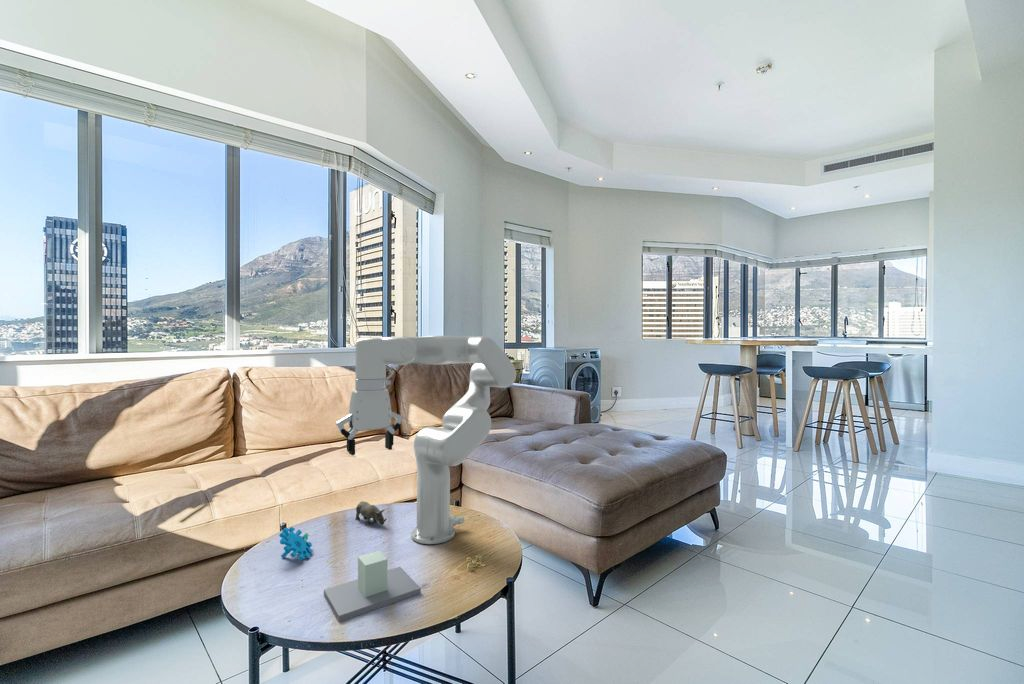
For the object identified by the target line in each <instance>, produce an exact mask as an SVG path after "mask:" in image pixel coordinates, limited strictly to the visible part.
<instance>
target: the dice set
mask: <svg viewBox="0 0 1024 684" xmlns="http://www.w3.org/2000/svg"><path fill="white" fill-rule="evenodd" d="M481 560H483V557H482V554H476V556H475V560H473V557H470V556H469V557H467V558H466V565H467V564H468V565H467V567H466V568H467V570H469V571H468V572H473V571H474V568H473V567H475V568H477V567H478V566H480V567H481V566H483V567H482V568H485V567H486V566H487V565H486V564H485V563H483V562H482V561H481ZM476 561H477V562H476ZM480 561H481V562H480ZM481 563H482V564H481ZM478 564H480V565H478ZM485 565H486V566H485ZM476 566H477V567H476ZM484 566H485V567H484ZM472 570H473V571H472Z"/></svg>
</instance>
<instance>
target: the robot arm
mask: <svg viewBox="0 0 1024 684" xmlns="http://www.w3.org/2000/svg"><path fill="white" fill-rule="evenodd" d="M412 363H414V364H422V365H423V364H424V365H440V366H441V365H452V364H454V365H455V364H472V366H471V368H470V371H469V386H468V390H467V392H466V393H465V394H464V395H463V396H462V397H461V398H460V399H459V400H458V401H456V402H455V403H454V404H453V405H452V406H451V407H450V408H449V409H448V410H447V411H445V413H444V415H443V416H442V419H441V426H442V427H439V426H426V427H423V428H422V429H420V430H419V431H418V432H417V434H416V435H415V437H414V441H413V451H414V458H415V463H416V464H415V465H416V527H415V528H413V529H412V530H411V533H410V535H411V536H410V537H411V539H412V540H413V541H414V542H416V543H419V544H422V545H424V544H425V545H437V544H442V543H446V542H449V541H451V539H453V538H454V537H455V535H456V529H455V528H454V527H456V525H461V524H462V525H463V524H464V523H465V521H466V520H465V517H464V516H459V517H457V516H456V515H452V516H451V506H450V505H451V471H450V467H457V466H458V465H461V464H462V463H463V462H464V461H465V460H467V459H468V457H470V456H471V455H472V454H473V453H474V451H476V450H477V448H479V446H480V445H481V444H482V443H483V442H484V441H485V440H486V438H487V437H488V435H489V433H490V432H491V428H492V418H491V415H490V414H489V411H487V410H488V409H489V407H490V404H491V392H490V389H491V388H502V389H505V388H509V387H511V386H512V385H514V383H515V381H516V379H517V378H516V377H517V371H516V367H515V365H514V363H513V362H512V361H511V360H510V358H509V356H507V354H506V353H505V351H503V349H502V348H501V347H500V346H499V345H498V343H497V342H496V341H495V340H493V338H491V337H489V336H487V335H486V336H485V335H478V336H477V335H426V336H425V335H424V336H415V337H414V336H411V337H410V336H408V337H406V336H403V337H402V336H398V337H397V336H383V337H361V338H359V339H356V341H355V390H352V392H351V394H350V400H349V409H348V414H347V415H346V416H345V417H342V418H341V419H339V420H338V421H336V422H335V426H336V427H337V429H338V431H339V433H340V434H341V435H343V437H345V438H346V451H347V452H348V454H349V455H351V456H355V455H356V439H354V438H355V436H356V435H357V433H358V432H363V431H373V430H382V429H384V430H385V431H386V432H385V434H384V439H385V440H384V447H385V449H387V450H389V451H392V449H393V446H394V435H395V434H396V431H398V429H399V428H400V426H401V424H402V421H403V419H404V416H403V415H401V414H399V413H396V412H394V411H392V404H391V397H390V393H389V390H388V389H387V388H388V387H387V386H391V385H392V380H391V379H387V375H386V374H387V365H393V366H394V365H395V366H405V365H406V366H407V365H409V364H412ZM392 418H394V419H395V421H394V423H392ZM347 423H348V428H349V429H346V428H345V424H347Z"/></svg>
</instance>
